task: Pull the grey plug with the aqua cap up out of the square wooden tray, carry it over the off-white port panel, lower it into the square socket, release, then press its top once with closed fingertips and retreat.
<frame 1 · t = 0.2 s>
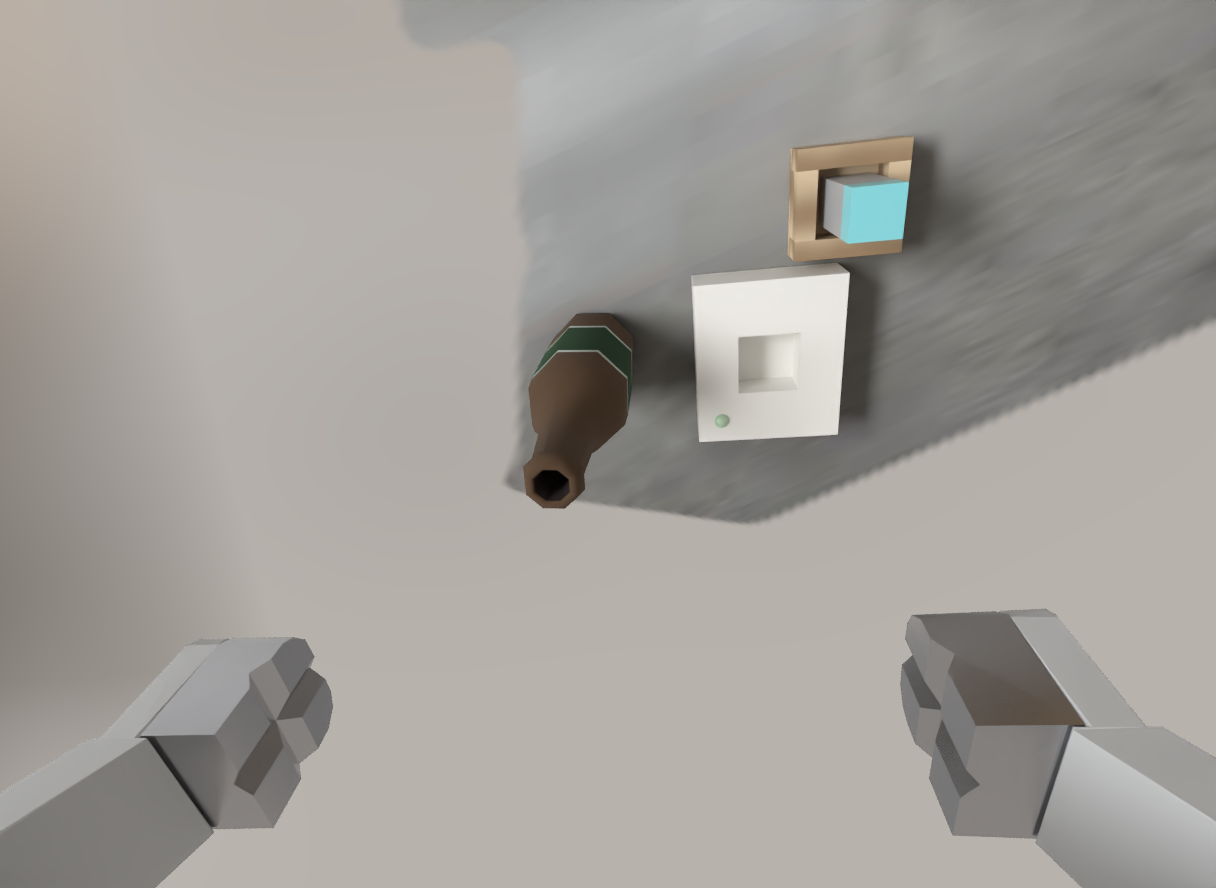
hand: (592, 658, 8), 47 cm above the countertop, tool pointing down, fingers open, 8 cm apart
plug: (842, 198, 48), resting on square wooden tray
beer bottle: (595, 349, 56), on the countertop
port: (762, 348, 54), on the countertop
square wooden tray: (841, 198, 48), on the countertop
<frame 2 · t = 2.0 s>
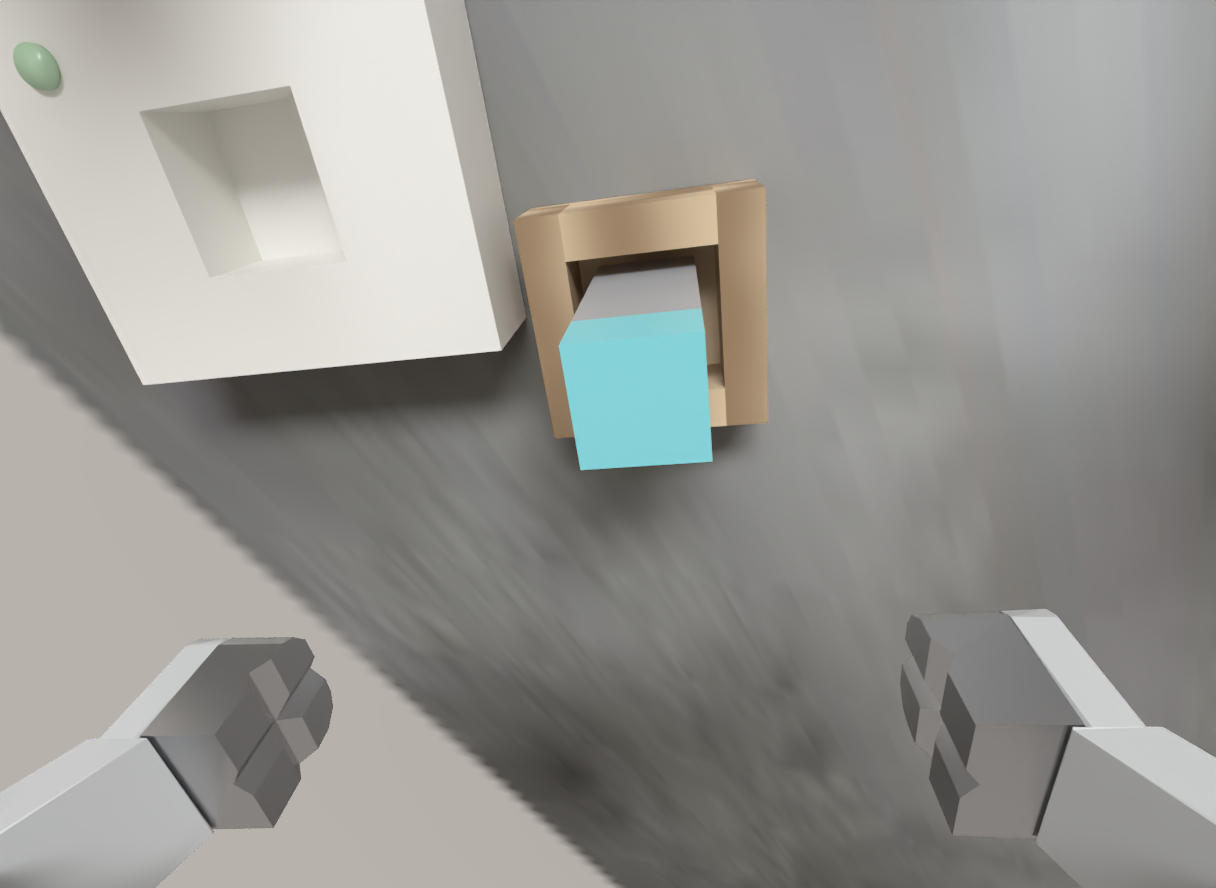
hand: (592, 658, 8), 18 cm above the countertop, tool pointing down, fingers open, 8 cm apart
plug: (650, 307, 23), resting on square wooden tray
port: (313, 178, 23), on the countertop
square wooden tray: (651, 304, 24), on the countertop
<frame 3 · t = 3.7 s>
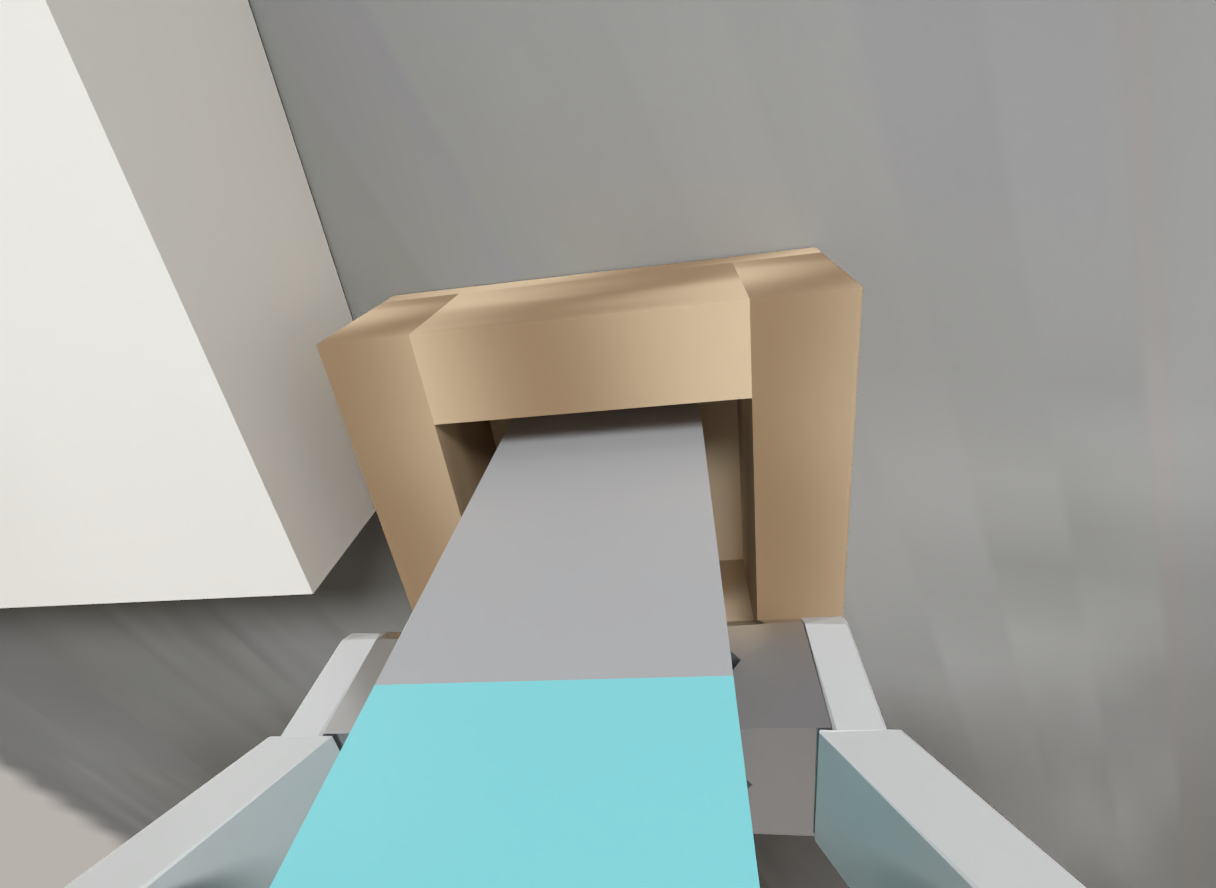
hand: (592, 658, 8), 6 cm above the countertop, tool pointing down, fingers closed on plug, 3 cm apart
plug: (618, 470, 13), point 1 cm above the countertop, touching gripper, square wooden tray
square wooden tray: (620, 458, 13), on the countertop
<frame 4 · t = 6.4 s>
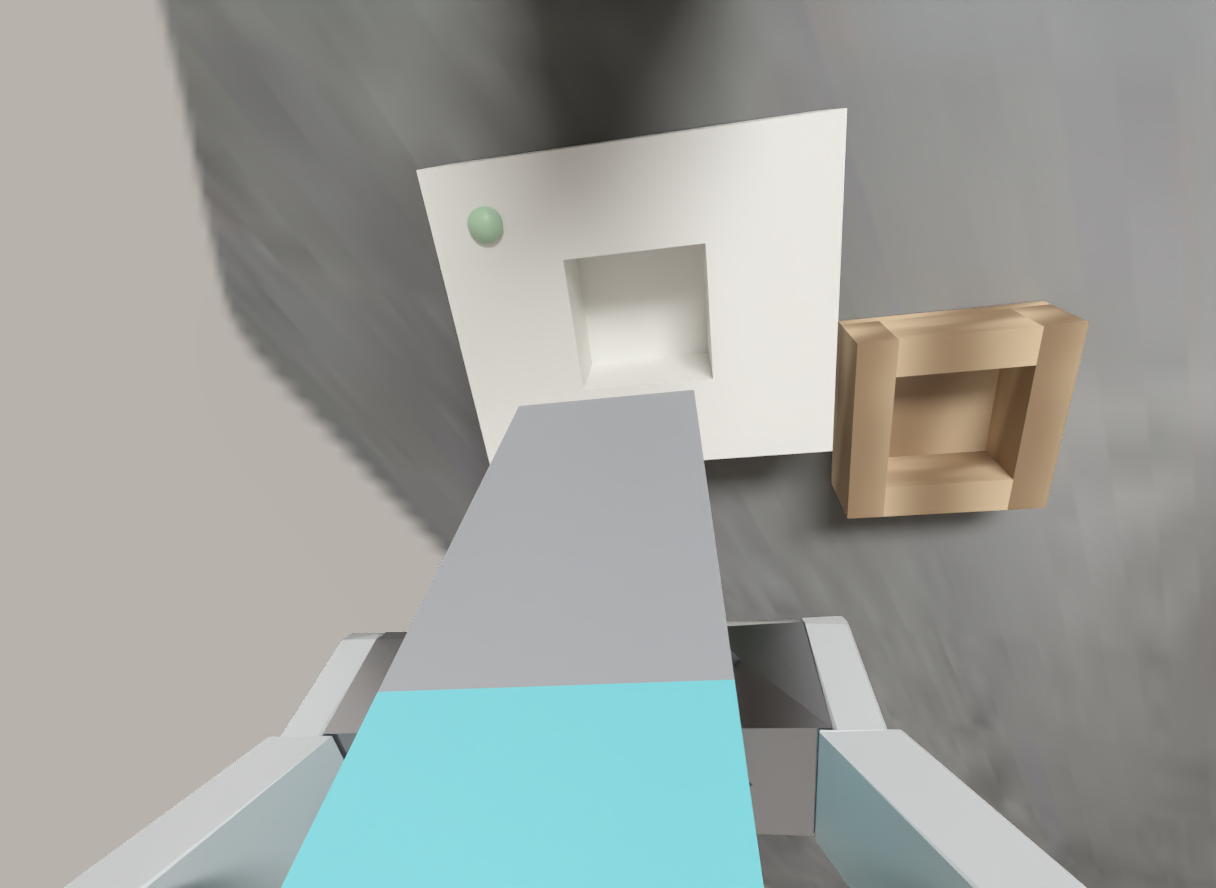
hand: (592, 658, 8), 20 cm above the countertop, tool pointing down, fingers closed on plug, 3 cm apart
plug: (615, 474, 13), point 15 cm above the countertop, touching gripper
port: (644, 294, 26), on the countertop
square wooden tray: (928, 399, 27), on the countertop
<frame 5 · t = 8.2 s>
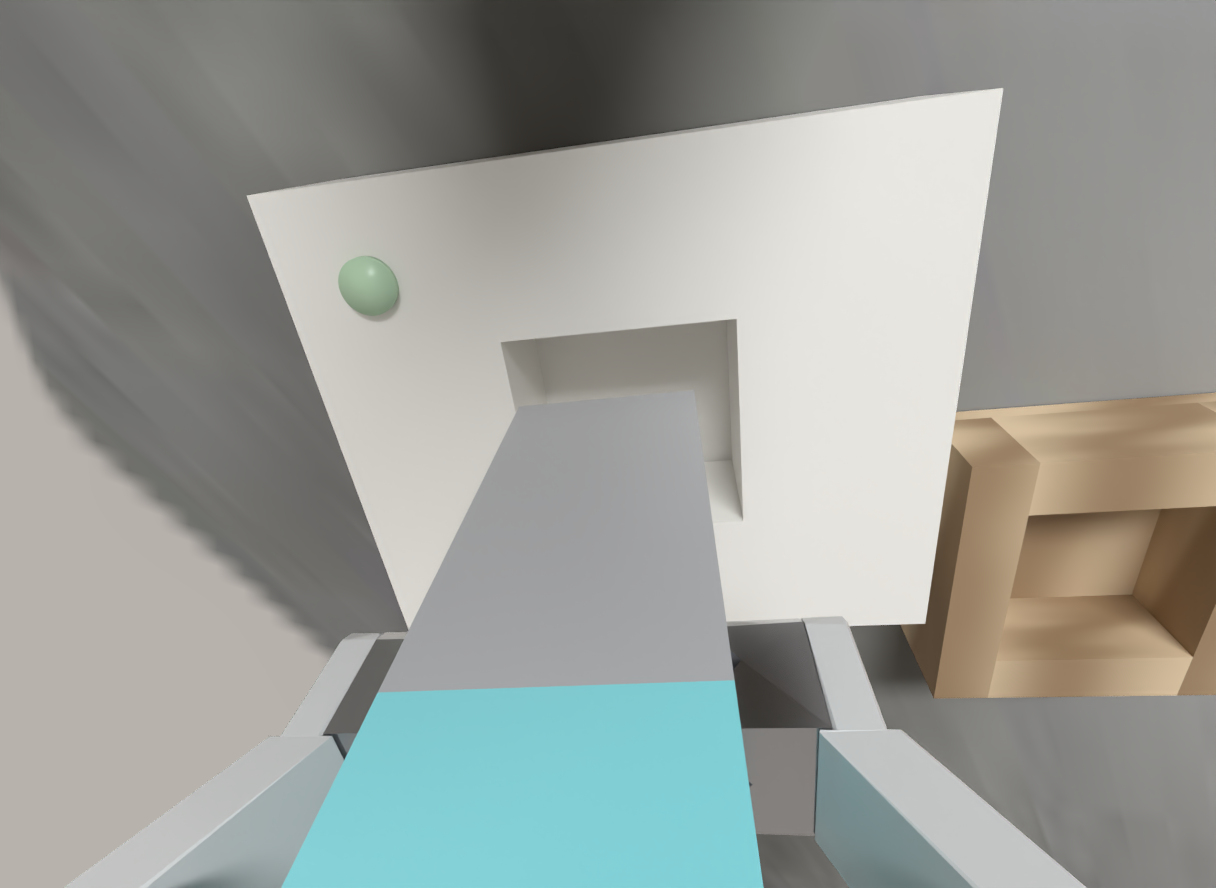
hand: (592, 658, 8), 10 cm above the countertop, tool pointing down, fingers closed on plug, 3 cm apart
plug: (616, 474, 13), point 5 cm above the countertop, touching gripper
port: (637, 372, 17), on the countertop
square wooden tray: (1051, 522, 18), on the countertop
when the fingers open (7 cm above the countertop, at t = 9.5 s): plug stays where it is, resting on port.
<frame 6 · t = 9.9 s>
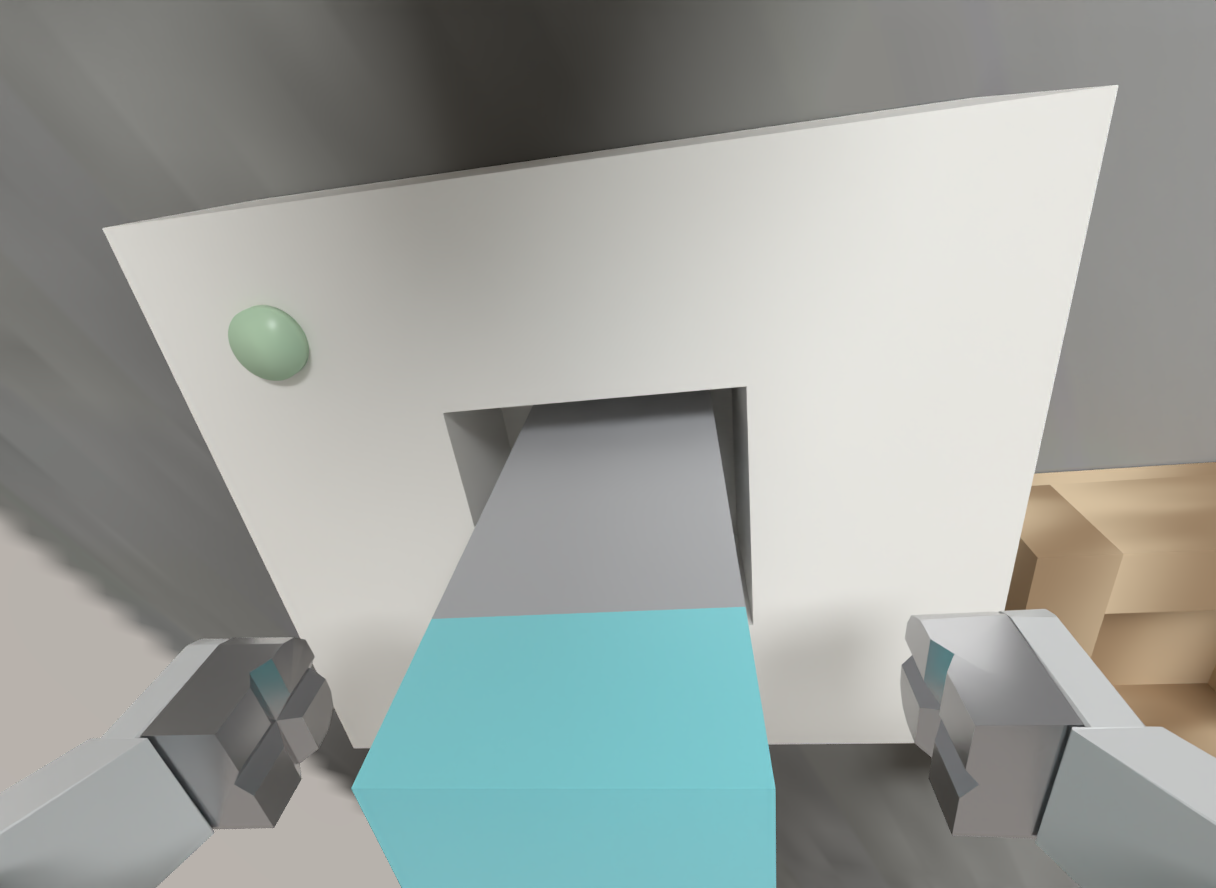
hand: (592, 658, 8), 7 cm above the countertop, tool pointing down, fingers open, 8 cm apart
plug: (632, 451, 14), point 1 cm above the countertop, touching port
port: (623, 429, 15), on the countertop
square wooden tray: (1113, 600, 16), on the countertop
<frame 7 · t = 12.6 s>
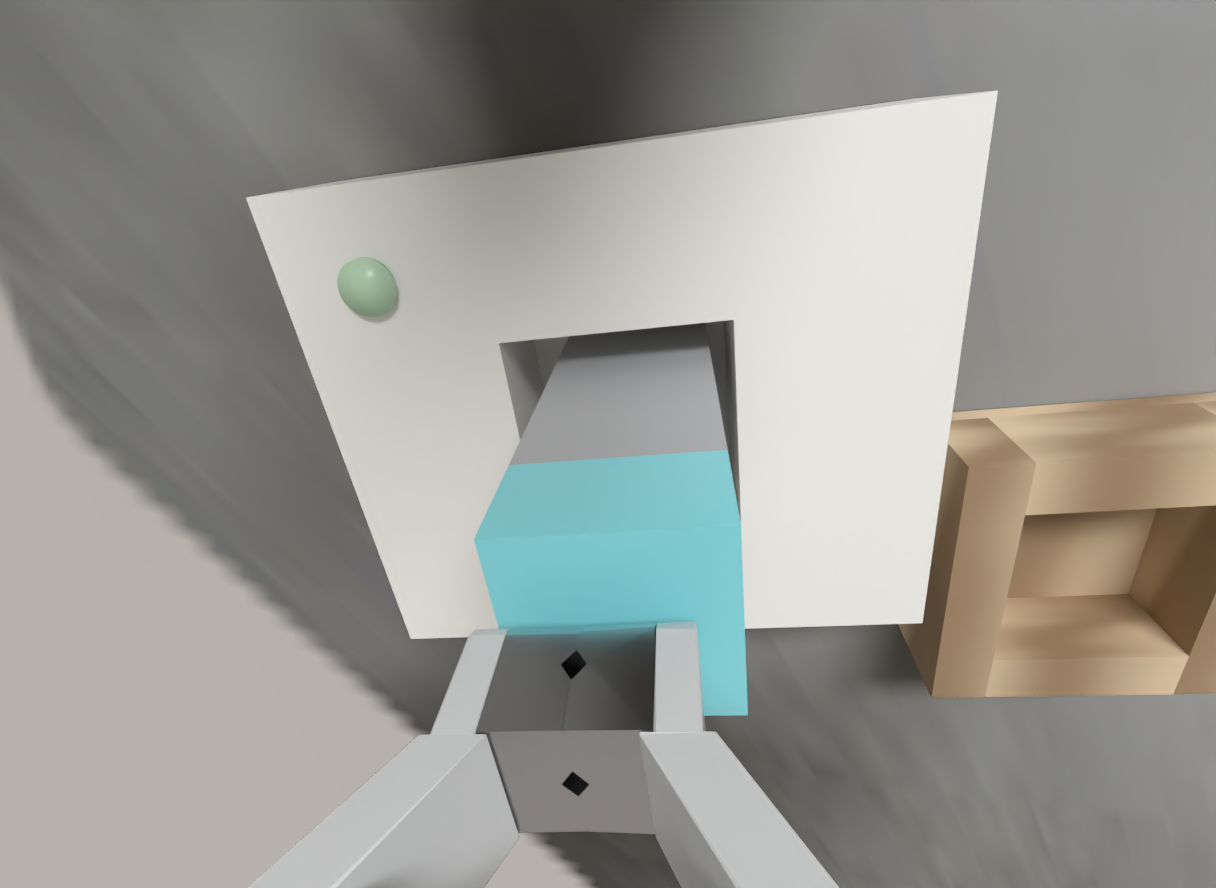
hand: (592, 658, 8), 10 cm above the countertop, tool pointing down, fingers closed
plug: (643, 389, 17), point 1 cm above the countertop, touching port
port: (635, 373, 17), on the countertop
square wooden tray: (1048, 522, 19), on the countertop
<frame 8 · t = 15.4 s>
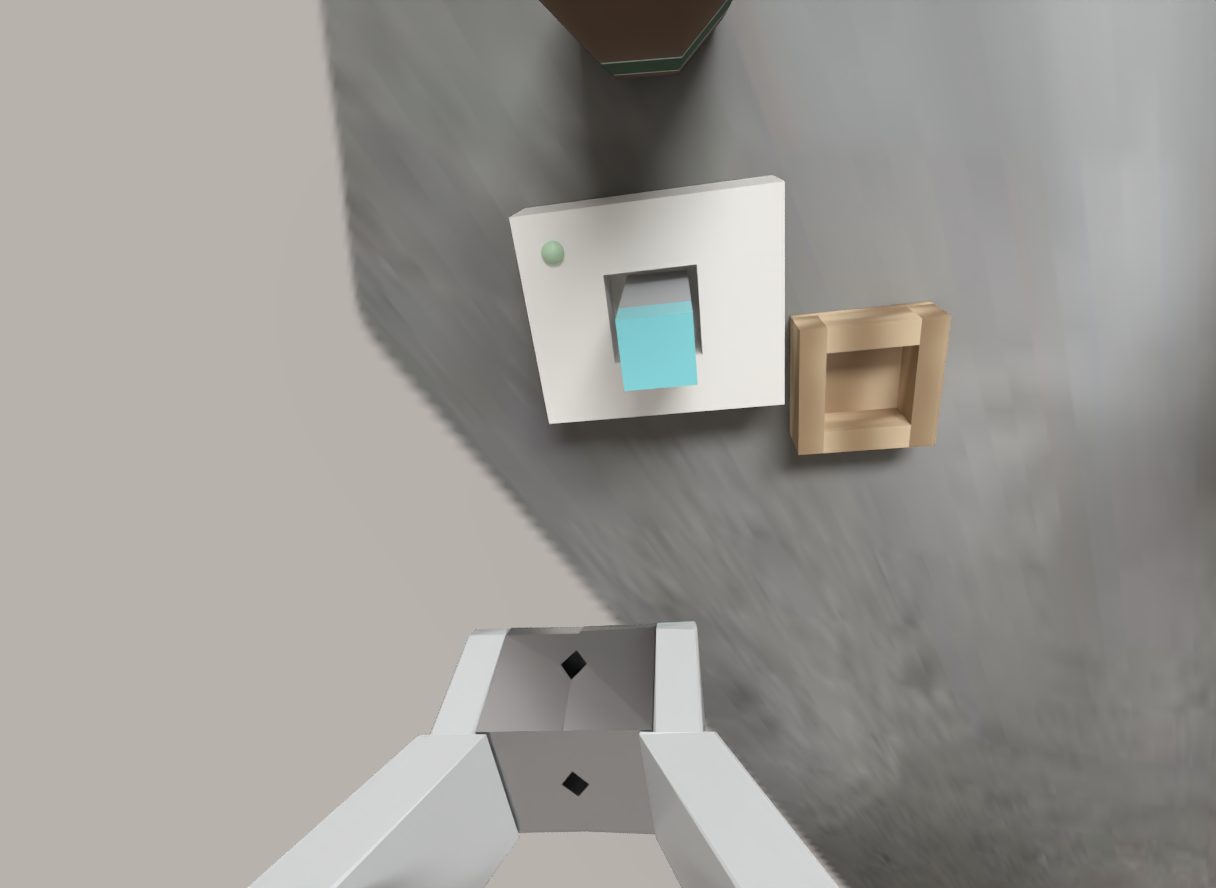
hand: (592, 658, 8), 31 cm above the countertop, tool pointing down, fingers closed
plug: (659, 302, 36), point 1 cm above the countertop, touching port
port: (655, 297, 37), on the countertop
square wooden tray: (855, 371, 38), on the countertop
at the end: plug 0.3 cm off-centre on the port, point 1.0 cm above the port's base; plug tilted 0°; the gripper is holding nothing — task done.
